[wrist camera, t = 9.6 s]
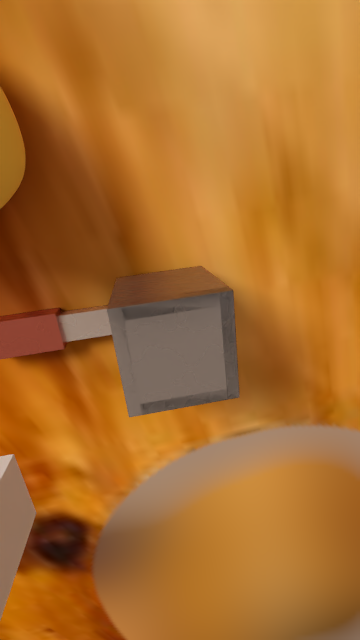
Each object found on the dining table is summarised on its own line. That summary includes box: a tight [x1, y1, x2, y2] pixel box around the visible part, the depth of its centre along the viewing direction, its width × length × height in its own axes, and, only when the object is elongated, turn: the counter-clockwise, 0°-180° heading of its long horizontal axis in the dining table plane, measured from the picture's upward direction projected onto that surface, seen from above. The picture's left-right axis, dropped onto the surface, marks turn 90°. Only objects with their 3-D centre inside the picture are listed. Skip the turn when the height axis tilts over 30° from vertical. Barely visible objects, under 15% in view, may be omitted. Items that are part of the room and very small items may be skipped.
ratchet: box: [0, 268, 183, 359], centre depth 25 cm, size 7×18×6 cm, turn 97°
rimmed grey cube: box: [107, 266, 239, 417], centre depth 22 cm, size 7×7×9 cm
